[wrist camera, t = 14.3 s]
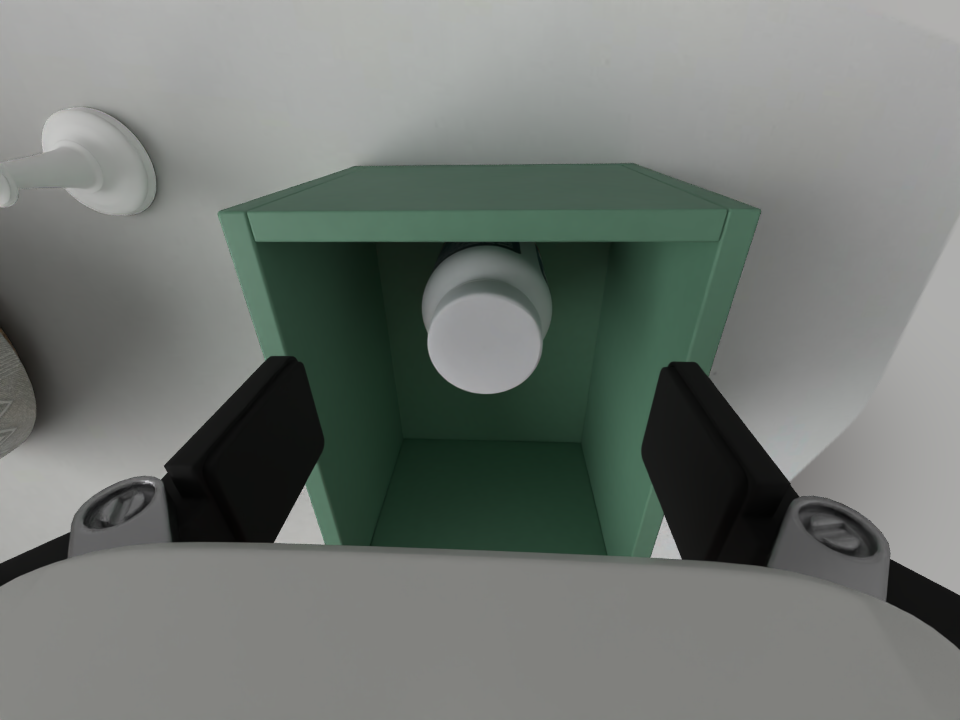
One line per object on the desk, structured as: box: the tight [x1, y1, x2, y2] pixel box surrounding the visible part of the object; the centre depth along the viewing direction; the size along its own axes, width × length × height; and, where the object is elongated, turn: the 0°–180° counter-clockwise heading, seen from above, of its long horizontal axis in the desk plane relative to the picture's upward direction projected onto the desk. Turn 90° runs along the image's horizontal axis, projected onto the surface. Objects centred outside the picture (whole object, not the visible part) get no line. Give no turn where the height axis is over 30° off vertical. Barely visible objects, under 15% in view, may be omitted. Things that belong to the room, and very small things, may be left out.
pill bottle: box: [422, 242, 552, 394], centre depth 18 cm, size 5×5×9 cm
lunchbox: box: [218, 163, 761, 558], centre depth 19 cm, size 18×14×11 cm
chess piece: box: [0, 107, 156, 216], centre depth 16 cm, size 5×5×10 cm
